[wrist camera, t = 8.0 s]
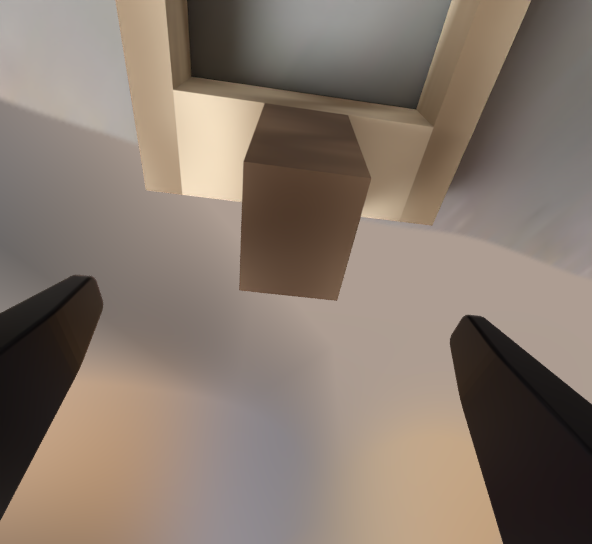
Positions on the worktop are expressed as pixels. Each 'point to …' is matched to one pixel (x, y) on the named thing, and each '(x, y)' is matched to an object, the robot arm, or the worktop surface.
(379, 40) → the worktop surface
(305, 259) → the ash sled frame
